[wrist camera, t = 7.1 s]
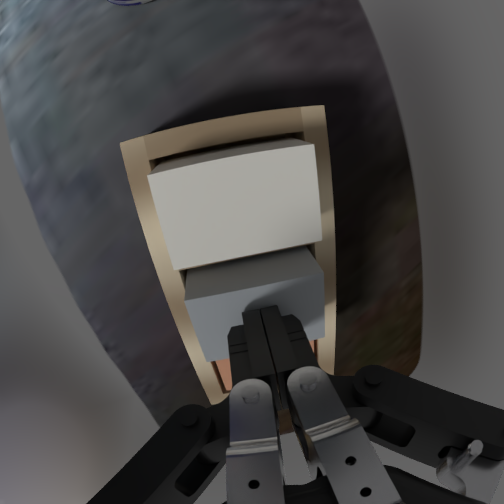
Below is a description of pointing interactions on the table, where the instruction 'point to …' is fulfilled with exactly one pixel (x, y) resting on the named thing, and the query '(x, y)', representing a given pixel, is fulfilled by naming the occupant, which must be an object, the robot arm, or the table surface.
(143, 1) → the energy drink
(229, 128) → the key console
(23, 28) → the table surface
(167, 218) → the ivory key
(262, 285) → the slate key
